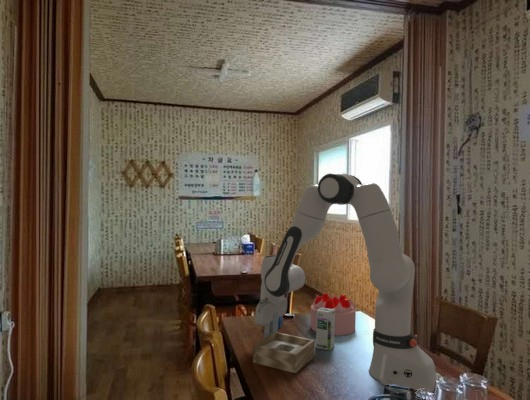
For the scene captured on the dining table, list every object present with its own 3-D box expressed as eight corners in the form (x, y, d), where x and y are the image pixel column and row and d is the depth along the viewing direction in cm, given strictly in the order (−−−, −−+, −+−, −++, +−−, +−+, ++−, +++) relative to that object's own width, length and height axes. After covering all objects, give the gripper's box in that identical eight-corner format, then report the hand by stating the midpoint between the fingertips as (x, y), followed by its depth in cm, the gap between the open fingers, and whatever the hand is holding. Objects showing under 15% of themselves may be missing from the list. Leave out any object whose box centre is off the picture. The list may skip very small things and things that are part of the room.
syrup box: (315, 348, 149) (316, 310, 149) (320, 343, 154) (321, 306, 154) (329, 351, 146) (330, 312, 146) (334, 346, 151) (335, 308, 151)
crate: (314, 356, 140) (314, 340, 140) (295, 373, 126) (295, 354, 126) (274, 347, 148) (275, 331, 148) (253, 362, 134) (253, 344, 134)
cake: (308, 321, 183) (309, 290, 183) (351, 322, 182) (352, 292, 182) (312, 335, 163) (312, 301, 163) (360, 337, 162) (360, 302, 162)
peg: (277, 341, 154) (278, 311, 154) (272, 345, 151) (273, 314, 151) (268, 340, 156) (269, 310, 156) (263, 343, 153) (264, 312, 153)
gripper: (265, 302, 143) (265, 340, 143) (290, 291, 161) (289, 325, 161) (251, 300, 146) (250, 336, 146) (276, 289, 164) (275, 322, 164)
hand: (271, 330), depth 154 cm, fingers closed on peg, 4 cm apart
